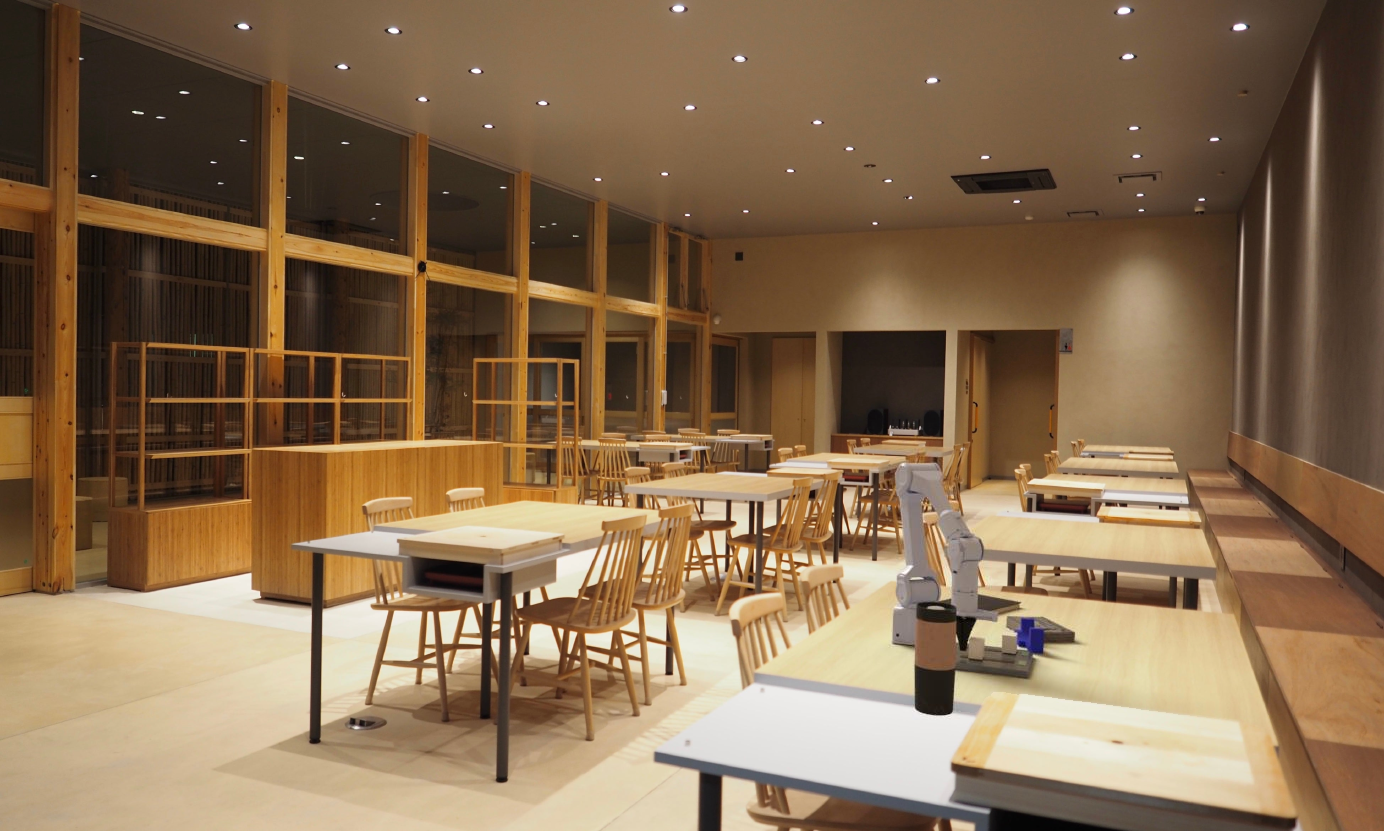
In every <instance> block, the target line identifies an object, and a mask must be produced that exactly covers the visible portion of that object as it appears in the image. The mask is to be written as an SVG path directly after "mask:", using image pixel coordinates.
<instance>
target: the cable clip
mask: <svg viewBox="0 0 1384 831" xmlns="http://www.w3.org/2000/svg"><path fill="white" fill-rule="evenodd" d="M1013 632H1014V633H1017V647H1019V648H1020V647H1021V648H1022V647H1023V648H1025V650H1028V651H1033V655H1034V654H1038V655H1044V646H1045V644H1044V629H1043V628H1035V624H1034V619H1033V618H1021V626H1020V630H1017V629H1014V630H1013Z"/></svg>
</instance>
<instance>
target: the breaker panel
mask: <svg viewBox="0 0 1384 831" xmlns="http://www.w3.org/2000/svg"><path fill="white" fill-rule="evenodd" d="M968 656H969V643H968V644H967V650H966V651H960V649H959V642H957V641H956V667H955V671H956V670H958V671H964V672H965V671H966V672H972V673H973V672H974V673H981V674H989V675H998V676H1004V677H1011V678H1012V677H1013V678H1022V679H1028V678H1029V673H1030V670H1031V666H1032V663H1033V659H1034V653H1033V651H1028V650H1027V649H1019V648H1017V651H1016V654H1012V653H1003V652H1002V646H994V645H993V646H991V645H985V648H984V657H983V659H982V660H979V659H971V658H968Z"/></svg>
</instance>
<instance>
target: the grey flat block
mask: <svg viewBox="0 0 1384 831" xmlns="http://www.w3.org/2000/svg"><path fill="white" fill-rule="evenodd" d="M1021 618H1033V619H1034V624H1035V628H1043V629H1044V643H1075V638H1076V632H1075V631H1074V630H1072V629H1070V628H1067V627H1064V626H1063V625H1060V624H1058V623H1057V622H1055V621H1052V620H1051V619H1048V618H1046V617H1044V616H1018V615H1017V616H1015V615H1008V616H1006V626H1005V627H1008V628H1009V629H1010V630H1012V631H1014V629H1017V630H1020V626H1021Z"/></svg>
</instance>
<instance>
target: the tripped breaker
mask: <svg viewBox="0 0 1384 831" xmlns="http://www.w3.org/2000/svg"><path fill="white" fill-rule="evenodd" d="M985 639H986V638H985V637H978V636H971V637H969V640H968V644H969V656H968V658H971V659H979V660H982V659H983V657H984V648H985V646H986V645H985V644H986V643H985V642H986V640H985Z"/></svg>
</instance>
